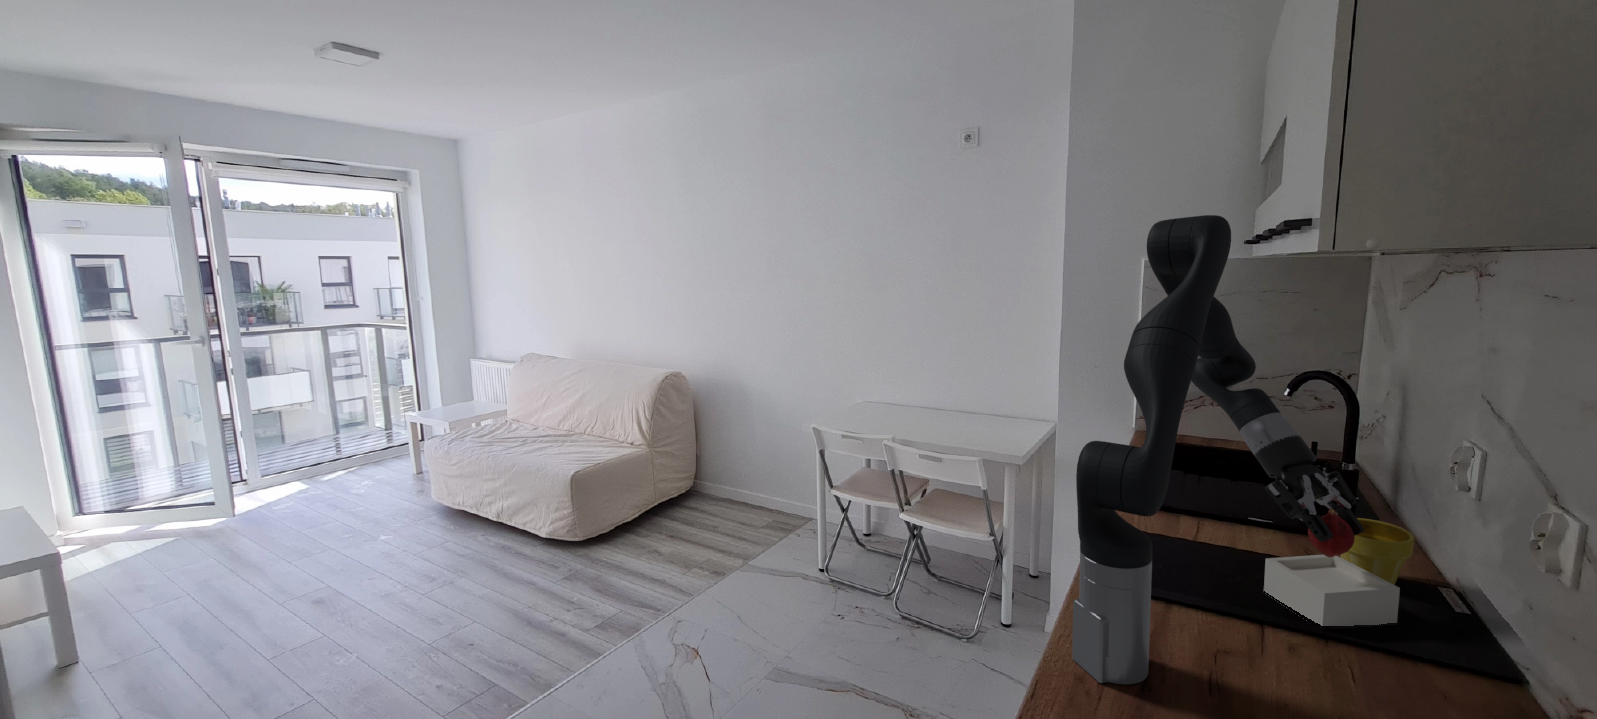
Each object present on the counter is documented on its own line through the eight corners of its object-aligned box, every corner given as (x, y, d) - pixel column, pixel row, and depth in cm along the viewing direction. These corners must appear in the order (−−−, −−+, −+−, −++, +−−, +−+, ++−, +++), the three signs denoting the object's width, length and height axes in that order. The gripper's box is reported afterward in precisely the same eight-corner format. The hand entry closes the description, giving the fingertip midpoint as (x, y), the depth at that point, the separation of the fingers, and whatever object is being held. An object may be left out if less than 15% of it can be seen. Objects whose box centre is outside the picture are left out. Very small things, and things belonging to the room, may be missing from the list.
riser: (1321, 632, 100) (1324, 593, 99) (1263, 593, 112) (1265, 558, 111) (1396, 626, 101) (1400, 587, 100) (1330, 588, 112) (1333, 553, 112)
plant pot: (1419, 601, 107) (1425, 545, 105) (1340, 589, 111) (1344, 536, 110) (1396, 573, 116) (1401, 521, 114) (1324, 564, 121) (1327, 514, 119)
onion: (1361, 566, 102) (1365, 518, 100) (1319, 564, 103) (1323, 516, 102) (1338, 549, 107) (1342, 503, 106) (1299, 548, 109) (1302, 502, 107)
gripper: (1258, 438, 108) (1326, 534, 98) (1325, 429, 111) (1397, 520, 101) (1228, 460, 114) (1290, 552, 104) (1292, 450, 117) (1358, 539, 107)
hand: (1342, 536), depth 103 cm, fingers closed on onion, 5 cm apart
